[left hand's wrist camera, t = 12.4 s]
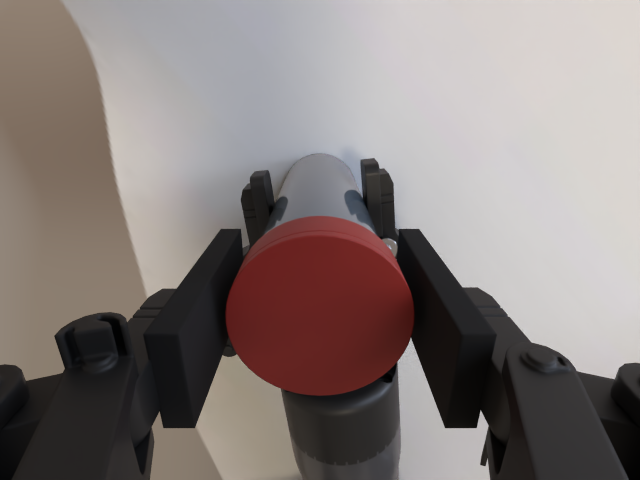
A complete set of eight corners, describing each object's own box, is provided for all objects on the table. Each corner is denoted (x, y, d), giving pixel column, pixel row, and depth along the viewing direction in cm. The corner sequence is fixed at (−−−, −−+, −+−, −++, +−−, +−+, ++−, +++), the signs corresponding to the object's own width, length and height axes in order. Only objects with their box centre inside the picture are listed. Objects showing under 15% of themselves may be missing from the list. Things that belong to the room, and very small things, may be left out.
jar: (367, 170, 24) (434, 275, 10) (338, 233, 26) (359, 398, 12) (300, 141, 24) (269, 210, 10) (274, 208, 25) (215, 350, 11)
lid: (432, 253, 11) (450, 278, 10) (359, 378, 13) (364, 416, 12) (270, 187, 11) (261, 203, 9) (216, 330, 12) (201, 363, 11)
